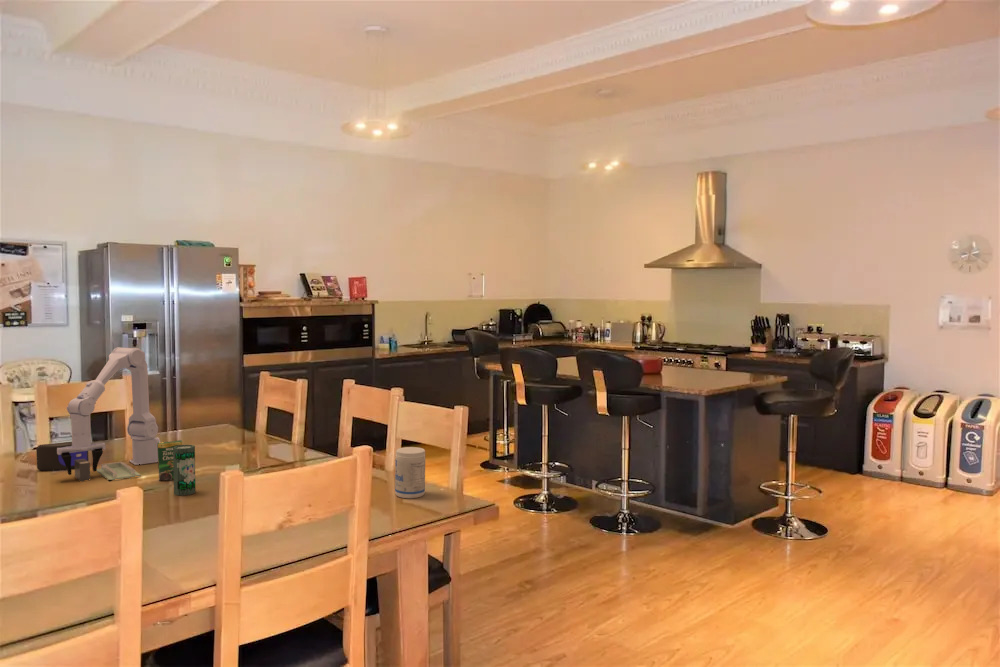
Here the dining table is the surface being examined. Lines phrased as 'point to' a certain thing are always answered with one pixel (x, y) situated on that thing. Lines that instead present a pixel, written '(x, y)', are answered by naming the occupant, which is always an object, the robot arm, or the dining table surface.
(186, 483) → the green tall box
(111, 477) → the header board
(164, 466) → the coffee box
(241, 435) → the dining table surface
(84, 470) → the brown block
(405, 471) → the supplement tub
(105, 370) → the robot arm
